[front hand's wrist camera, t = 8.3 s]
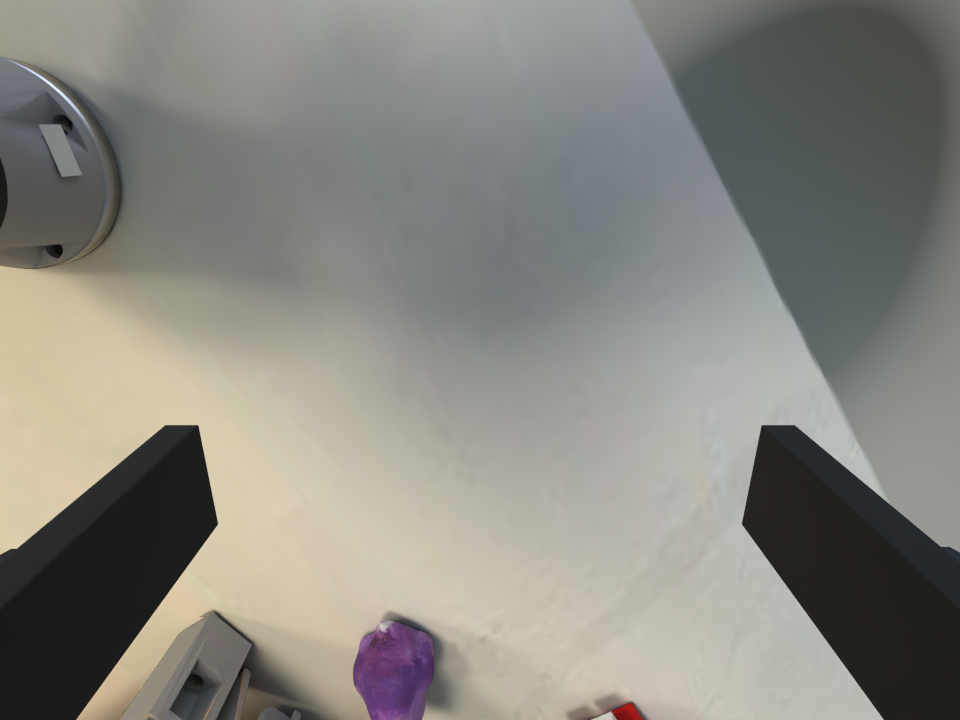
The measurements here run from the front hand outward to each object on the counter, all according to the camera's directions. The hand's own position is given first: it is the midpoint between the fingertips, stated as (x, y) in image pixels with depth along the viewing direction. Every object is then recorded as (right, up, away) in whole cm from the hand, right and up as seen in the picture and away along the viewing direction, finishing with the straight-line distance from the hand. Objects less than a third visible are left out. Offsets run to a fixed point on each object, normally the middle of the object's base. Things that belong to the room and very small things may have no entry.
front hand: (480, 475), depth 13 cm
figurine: (-8, -29, +47) cm, 56 cm away
